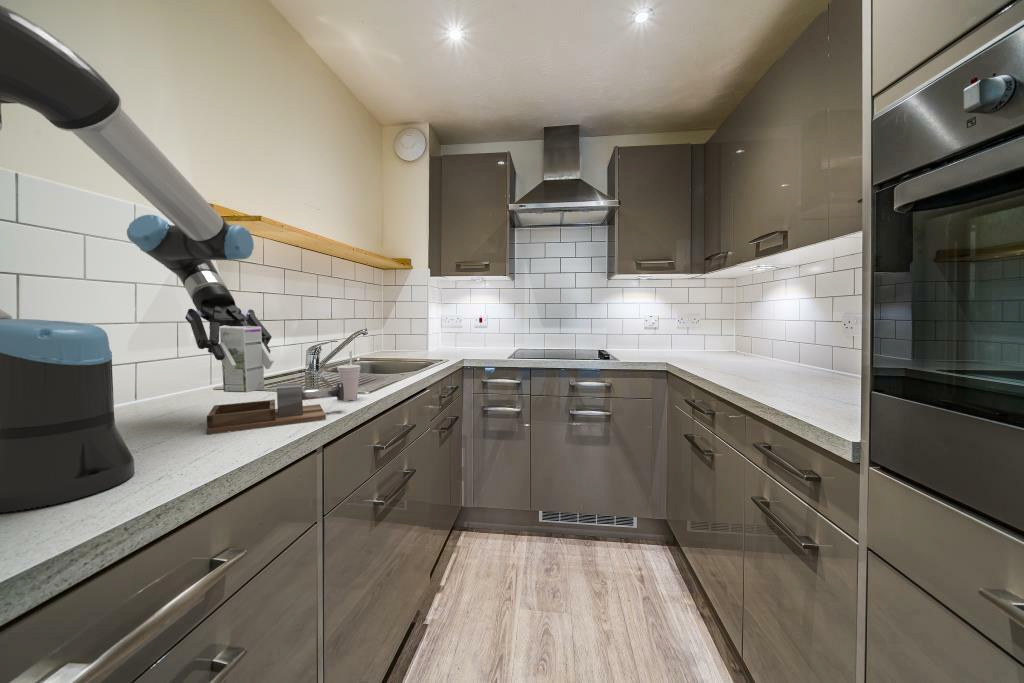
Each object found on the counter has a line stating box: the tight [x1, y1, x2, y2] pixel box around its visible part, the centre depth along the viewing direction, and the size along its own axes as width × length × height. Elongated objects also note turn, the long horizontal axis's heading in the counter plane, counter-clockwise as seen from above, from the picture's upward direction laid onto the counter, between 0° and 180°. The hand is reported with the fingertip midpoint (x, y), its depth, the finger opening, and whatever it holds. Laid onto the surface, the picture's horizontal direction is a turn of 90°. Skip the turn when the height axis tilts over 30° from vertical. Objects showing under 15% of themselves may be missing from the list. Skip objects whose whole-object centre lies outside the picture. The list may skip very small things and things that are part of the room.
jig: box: [206, 381, 327, 435], centre depth 92 cm, size 14×22×8 cm, turn 121°
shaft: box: [302, 382, 344, 401], centre depth 97 cm, size 4×13×4 cm, turn 121°
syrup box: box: [219, 326, 265, 393], centre depth 89 cm, size 6×6×14 cm
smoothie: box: [336, 350, 362, 401], centre depth 114 cm, size 6×6×14 cm
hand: (251, 366), depth 88 cm, fingers closed on syrup box, 7 cm apart
